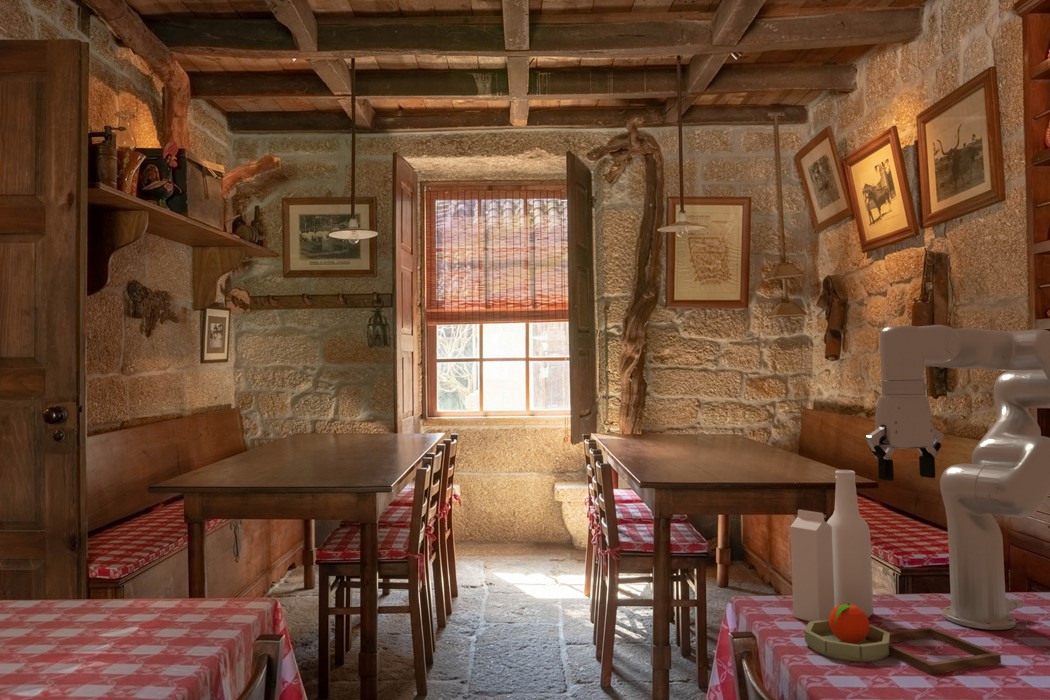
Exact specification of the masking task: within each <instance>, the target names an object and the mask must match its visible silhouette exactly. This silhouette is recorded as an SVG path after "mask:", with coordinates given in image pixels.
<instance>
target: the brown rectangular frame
mask: <svg viewBox="0 0 1050 700" xmlns="http://www.w3.org/2000/svg"><path fill="white" fill-rule="evenodd" d="M888 632H889V633H890V645H889V656H891V657H893V658H895V659H897V660H899V661H902V662H903V663H906V664H908V665H910V666H912V667H914V668H916V669H918V670H920V671H923V672H925V673H927V674H929V675H936V674H942V673H948V672H947V671H950V672H955V671H954V670H956V671H960V670H959V669H963V670H967V669H966V668H969V669H974V667H976V668H981V666H982V667H987V666H994V665H999V664H1000V665H1001V663H1002V660H1001V659H1002V658H1001V657H1002V655H1001V654H999V653H997V652H995V651H992V650H989V649H987V648H985V647H982V646H980V645H978V644H975V643H972V642H970V641H967V640H964V639H962V638H960V637H957V636H954V635H952V634H949V633H948V632H944V631H943V630H940V629H938V628H934V627H932V626H927V627H926V626H925V627H919V628H912V629H904V630H895V631H888ZM926 637H927V638H932V639H934V638H935V639H934V640H937V641H939V640H940V642H942V641H943V642H942V643H944V642H945V643H944V644H947V643H948V644H947V645H949V644H950V645H949V646H951V645H953V646H952V647H954V646H955V647H954V648H956V647H957V648H956V649H959V648H960V649H959V650H961V649H962V650H961V651H963V650H964V651H963V652H966V651H967V653H968V652H969V654H970V656H963V657H958V658H949V659H945V660H937V661H932V662H931V661H928V660H925V659H924V658H921V657H919V656H917V655H915V654H914V653H911V652H909V651H906V650H904V649H902V648H900V647H897V646H895V645H893V644H891V643H896V642H897V643H898V642H904V641H903V640H905V641H911V639H912V640H918V639H919V638H920V639H925V638H926ZM920 639H919V640H920ZM866 640H869V641H871V642H873V643H875V642H882V640H880V639H878V638H876V636H874V635H867V637H866ZM975 655H976V656H975ZM972 667H973V668H972Z"/></svg>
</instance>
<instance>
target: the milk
mask: <svg viewBox="0 0 1050 700" xmlns="http://www.w3.org/2000/svg"><path fill="white" fill-rule="evenodd" d="M790 555H791V582H792V583H791V584H792V585H791V586H792V615H793V616H792V617H793V618H796V619H800V620H803V621H807V622H810V621H818V620H826V619H829V616H830V614H831V611H832V610H833V609H834V608H835V603H834V576H833V548H832V527H831V526H830V525H829V524H828V523H827V521H825V515H824V513H823V512H818V511H811V510H806V509H805V510H804V509H798V510H797V517H796V518H795V520H794V521H793V522H792V524H791V525H790Z"/></svg>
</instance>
